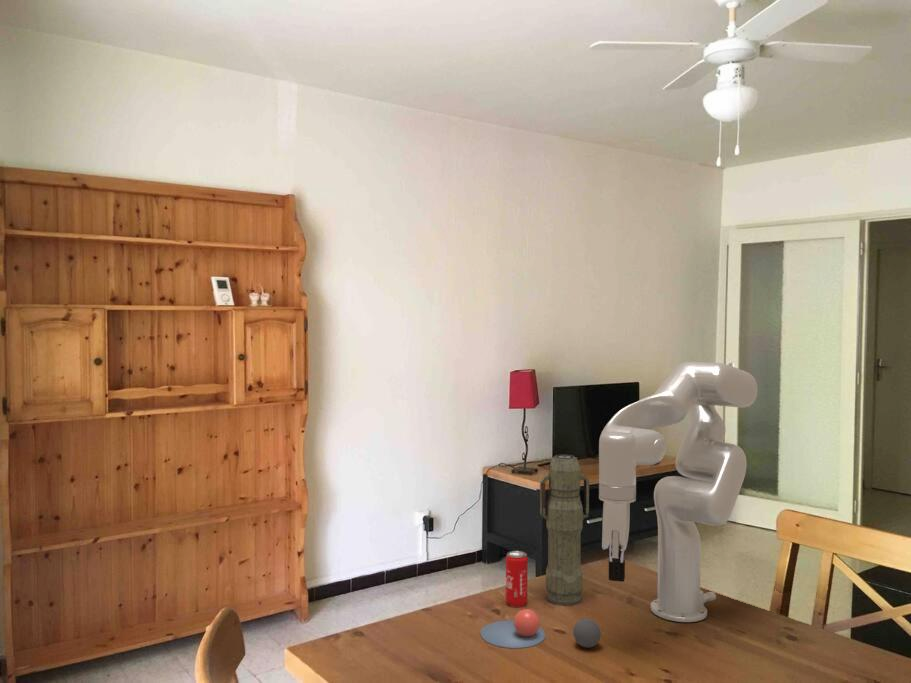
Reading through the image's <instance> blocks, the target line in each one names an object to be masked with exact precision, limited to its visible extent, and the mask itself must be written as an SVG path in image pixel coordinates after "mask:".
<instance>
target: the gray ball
mask: <svg viewBox="0 0 911 683" xmlns="http://www.w3.org/2000/svg"><path fill="white" fill-rule="evenodd" d="M601 634H602V633H601V629H600V626H599V625H598V624H597V623H596V621H594V620H592V619H590V618H582V619H580V620H578V621H577V622H576V623H575V625H574V628H573V637H574V639H575V641H576V643H577V644H578V645H580V646H581V647H583V648H590V649H591V648H593V647H594V646H597V644H598V643H599V642H600V640H601Z"/></svg>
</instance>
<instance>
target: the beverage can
mask: <svg viewBox="0 0 911 683" xmlns="http://www.w3.org/2000/svg"><path fill="white" fill-rule="evenodd" d="M527 555H528V554H527V553H526V552H524V551H521V550H520V551H519V550H512V551H508V552H506V557H505V600H506V603H507V605H508V606H510V607H514V608H520V607H524V606H526V604H527V601H528V587H529V586H528V575H529V574H528V568H529V567H528V566H529V565H528V563H529V562H528V556H527Z"/></svg>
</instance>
